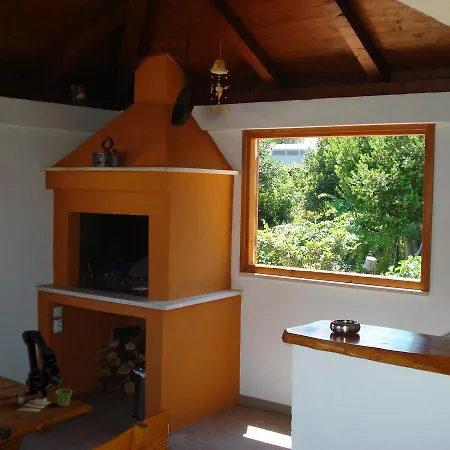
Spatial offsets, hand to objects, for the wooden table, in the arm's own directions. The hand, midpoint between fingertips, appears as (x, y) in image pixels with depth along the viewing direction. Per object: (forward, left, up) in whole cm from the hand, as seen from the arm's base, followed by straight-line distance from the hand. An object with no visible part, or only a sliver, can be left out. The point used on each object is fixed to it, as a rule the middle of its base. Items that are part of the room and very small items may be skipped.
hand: (45, 398), depth 357 cm
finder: (+7, 0, -1) cm, 7 cm away
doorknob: (+8, -11, -2) cm, 14 cm away
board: (+10, -2, -2) cm, 11 cm away
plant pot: (+3, +12, -3) cm, 13 cm away
